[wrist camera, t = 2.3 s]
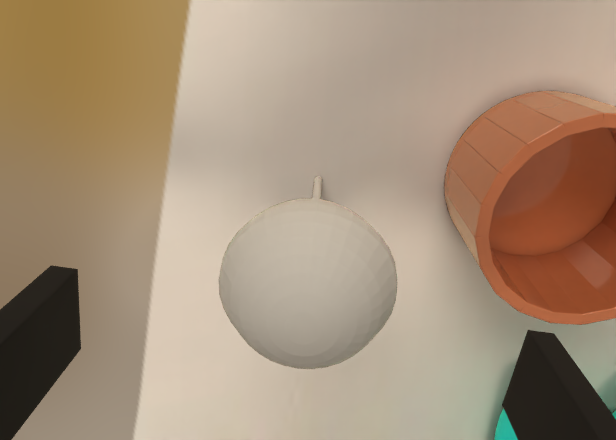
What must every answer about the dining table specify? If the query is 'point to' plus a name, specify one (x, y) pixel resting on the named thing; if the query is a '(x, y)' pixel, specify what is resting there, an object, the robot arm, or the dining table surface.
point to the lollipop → (308, 282)
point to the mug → (541, 204)
